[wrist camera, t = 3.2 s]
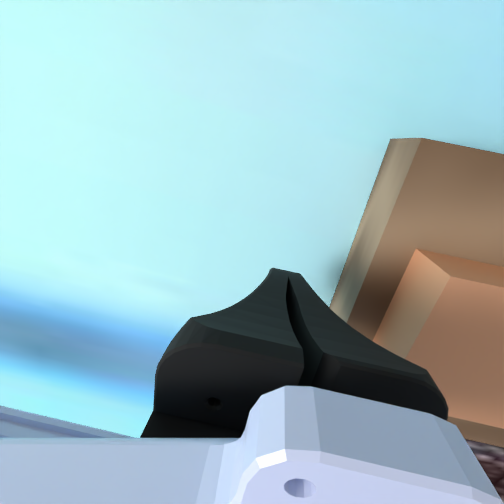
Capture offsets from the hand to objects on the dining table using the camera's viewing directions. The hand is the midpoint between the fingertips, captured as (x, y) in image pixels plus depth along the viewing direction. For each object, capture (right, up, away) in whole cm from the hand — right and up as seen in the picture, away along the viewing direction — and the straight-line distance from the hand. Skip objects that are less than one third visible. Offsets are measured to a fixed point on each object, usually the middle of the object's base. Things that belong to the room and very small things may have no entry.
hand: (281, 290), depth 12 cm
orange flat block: (+9, -2, 0) cm, 10 cm away
